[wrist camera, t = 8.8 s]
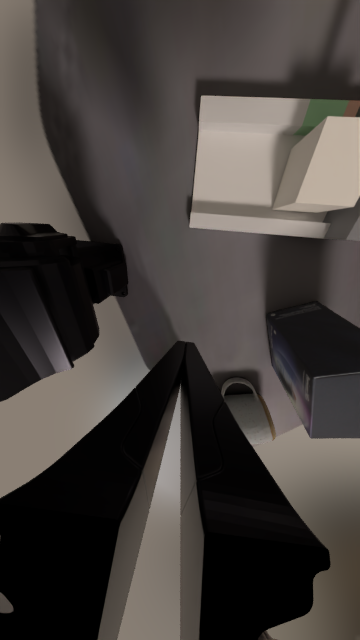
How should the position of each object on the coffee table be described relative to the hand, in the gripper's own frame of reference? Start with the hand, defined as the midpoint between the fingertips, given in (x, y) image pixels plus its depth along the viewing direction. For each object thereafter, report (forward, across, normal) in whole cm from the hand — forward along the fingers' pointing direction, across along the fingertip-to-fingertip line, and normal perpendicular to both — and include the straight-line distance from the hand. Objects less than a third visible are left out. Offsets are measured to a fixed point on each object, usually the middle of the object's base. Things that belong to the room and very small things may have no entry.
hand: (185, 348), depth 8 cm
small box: (+13, -15, +7) cm, 21 cm away
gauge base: (+13, -6, -10) cm, 17 cm away
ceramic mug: (+13, -11, +22) cm, 28 cm away
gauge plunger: (+13, -9, -11) cm, 19 cm away
